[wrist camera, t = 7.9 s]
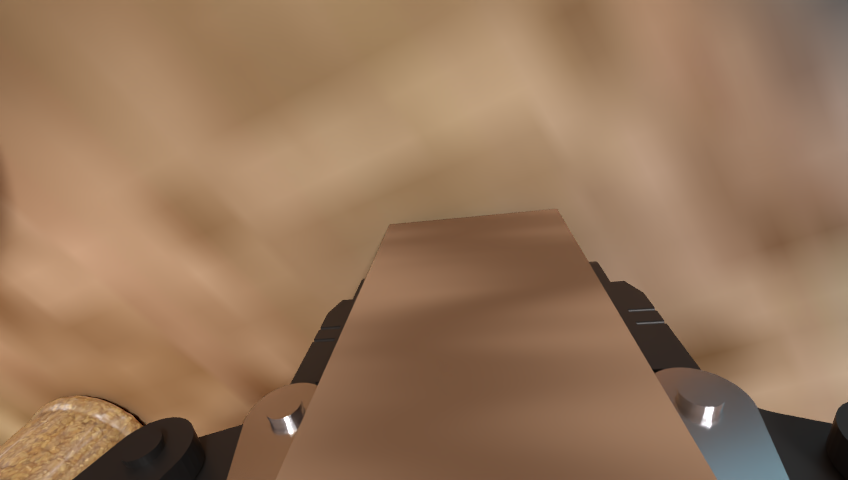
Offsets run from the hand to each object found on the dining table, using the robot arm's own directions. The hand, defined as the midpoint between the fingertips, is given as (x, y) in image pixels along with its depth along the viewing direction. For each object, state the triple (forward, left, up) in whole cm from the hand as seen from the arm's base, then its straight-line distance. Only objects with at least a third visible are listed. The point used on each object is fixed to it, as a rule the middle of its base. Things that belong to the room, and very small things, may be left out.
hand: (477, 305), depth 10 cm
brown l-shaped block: (0, +6, -1) cm, 6 cm away
